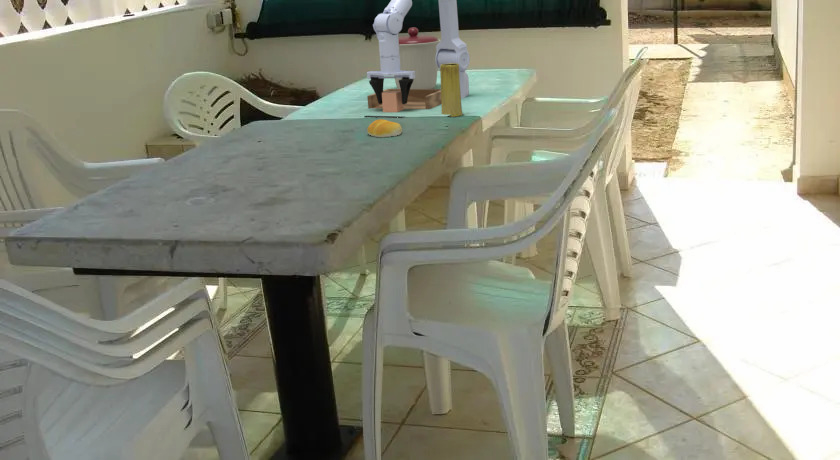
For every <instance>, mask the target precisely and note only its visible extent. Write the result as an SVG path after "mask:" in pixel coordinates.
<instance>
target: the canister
mask: <svg viewBox="0 0 840 460" xmlns="http://www.w3.org/2000/svg"><path fill="white" fill-rule="evenodd" d="M407 33H408V35H405V36H398V38H399V54H400V55H399V56H400V70H401V71H415V78H413V79H414V80H413V83H412V85H411V88H410V89H435V87H436V85H437V81H438V71H439V70H438V69H439V68H438V67H437V65H436V62H435V57H436V52H437V49H436V46H437V45H438V44H439V43H440V41H441V40H442V39H440V38H438V37H437V36H434V35H423V34H421V35H420V34H419V29H418V28H417V27H409V28H408V30H407ZM401 79H402V78H394V81H395V86H396V89H400V84H399V80H401Z"/></svg>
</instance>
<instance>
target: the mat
mask: <svg viewBox="0 0 840 460" xmlns="http://www.w3.org/2000/svg"><path fill="white" fill-rule="evenodd" d="M397 117H398V118H397ZM364 118H371V119H372V118H373V119H374V118H376V119H379V118H380V119H381V118H382V119H387V118H388V119H404V118H405V115H404V116H402V115H401V116H398V115H397V116H396V115H395V116H393V115H391V116H389V115H364Z"/></svg>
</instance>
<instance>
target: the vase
mask: <svg viewBox="0 0 840 460" xmlns="http://www.w3.org/2000/svg"><path fill="white" fill-rule="evenodd" d="M439 73H440V89H441V115H448V116H446V118H456V117H457V118H458V117H461V116H463V114H464V112H463V109H462V98H461V92H460V77H459V64H457V63H448V64H441V65H440V68H439Z"/></svg>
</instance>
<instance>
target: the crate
mask: <svg viewBox="0 0 840 460" xmlns="http://www.w3.org/2000/svg"><path fill="white" fill-rule="evenodd" d="M386 91H401V89H398V88H386V89H383V92H386ZM366 99H367V108H368V109H374V110H375V109H380V110H381V109H382V110H383V104H378V100H377V97H376V94H375V92H374V93H371V94H369V95H367V98H366ZM440 105H441V88H434V89H410V91H409V95H408V100H407V103H406V104H403V108H404V110H432V109H433V108H436V107H438V106H440ZM441 106H442V105H441Z"/></svg>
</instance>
